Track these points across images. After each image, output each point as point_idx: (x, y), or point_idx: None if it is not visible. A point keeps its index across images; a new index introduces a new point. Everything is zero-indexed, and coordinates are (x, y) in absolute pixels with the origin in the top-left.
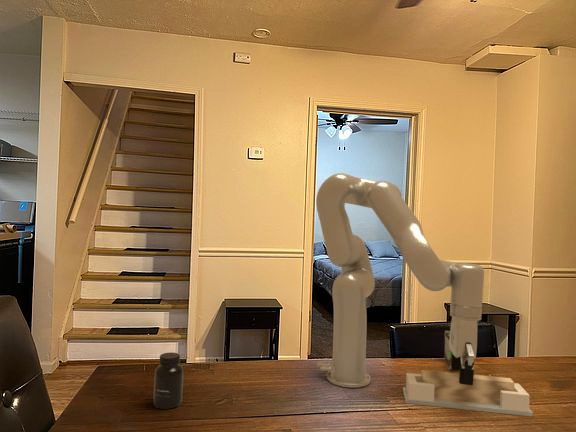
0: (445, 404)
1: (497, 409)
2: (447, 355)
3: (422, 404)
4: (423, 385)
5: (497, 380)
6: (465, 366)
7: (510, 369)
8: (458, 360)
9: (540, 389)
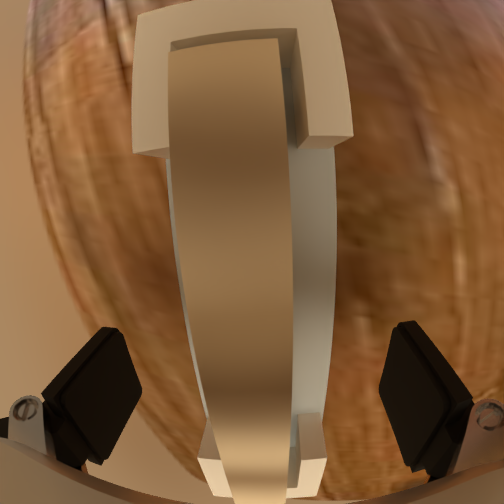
0: (172, 214)
1: (202, 401)
2: None
3: None
4: (133, 85)
5: (236, 485)
6: (5, 418)
7: None
8: (411, 414)
9: (398, 473)
